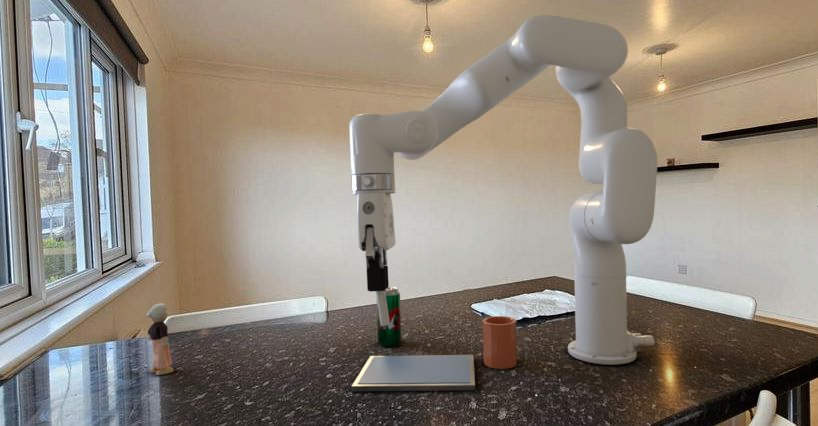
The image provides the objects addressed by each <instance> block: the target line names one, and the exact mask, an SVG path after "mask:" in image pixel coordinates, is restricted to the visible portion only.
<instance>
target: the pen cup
mask: <svg viewBox="0 0 818 426" xmlns="http://www.w3.org/2000/svg"><path fill="white" fill-rule="evenodd" d="M517 339H518V337H517V319H516V318H514V317H511V316H507V315H506V316H504V315H494V316H493V315H492V316H488V317H485V318H483V319H482V350H483V353H482V355H483V364H484V366H486V367H488V368H490V369H496V370H507V369H511V368H515V367H516V366H517V365H518V340H517Z"/></svg>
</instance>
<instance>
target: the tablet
mask: <svg viewBox="0 0 818 426" xmlns="http://www.w3.org/2000/svg"><path fill="white" fill-rule="evenodd" d="M474 359H475V358H474V354H434V355H432V354H428V355H427V354H426V355H425V354H424V355H423V354H421V355H370V356H369V358H368V359H367V361H366V362H365V364H364V365H363V367H362V369H361V370H360V372H359V374H358V375H357V376H356V378H355V380H354V381H353V383H352V385H351V392H354V393H355V392H439V391H440V392H445V391H447V392H450V391H460V392H461V391H476V378H475V377H476V376H475V361H474Z"/></svg>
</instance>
